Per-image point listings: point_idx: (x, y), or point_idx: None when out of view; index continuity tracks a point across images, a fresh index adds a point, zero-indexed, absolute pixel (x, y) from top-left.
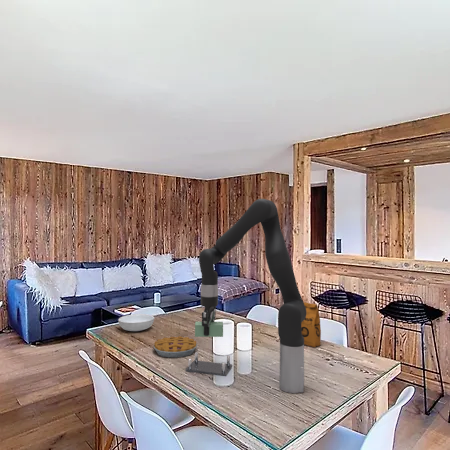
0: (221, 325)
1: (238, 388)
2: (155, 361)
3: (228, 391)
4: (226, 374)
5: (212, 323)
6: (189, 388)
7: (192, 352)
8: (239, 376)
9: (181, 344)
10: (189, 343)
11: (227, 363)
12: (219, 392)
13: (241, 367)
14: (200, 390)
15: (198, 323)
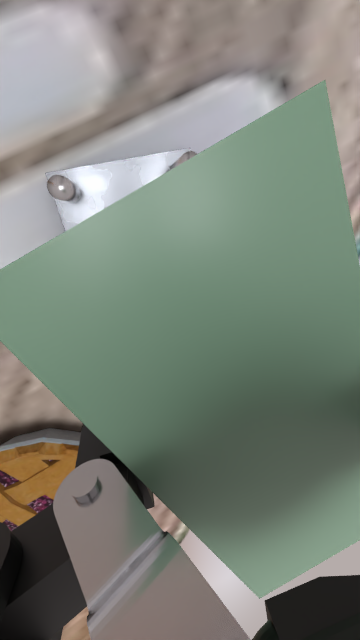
0: (323, 143)
1: (294, 11)
2: None
3: (334, 60)
4: (182, 149)
5: (266, 404)
6: None
7: (30, 434)
8: (156, 66)
9: (43, 500)
10: (2, 489)
11: (78, 193)
12: (350, 104)
13: (24, 106)
14: (347, 196)
15: (330, 532)
